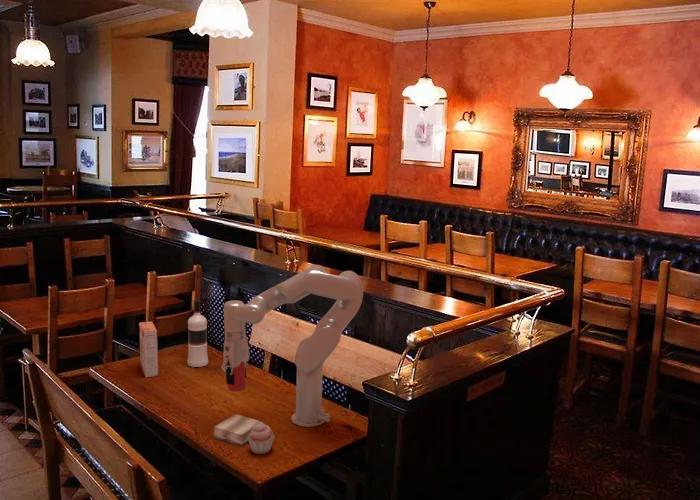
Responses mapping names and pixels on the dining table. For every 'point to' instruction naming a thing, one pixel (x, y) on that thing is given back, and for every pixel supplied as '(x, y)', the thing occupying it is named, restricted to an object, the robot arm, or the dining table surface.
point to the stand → (235, 429)
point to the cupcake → (261, 438)
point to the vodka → (197, 338)
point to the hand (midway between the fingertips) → (236, 380)
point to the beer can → (238, 378)
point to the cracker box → (148, 349)
